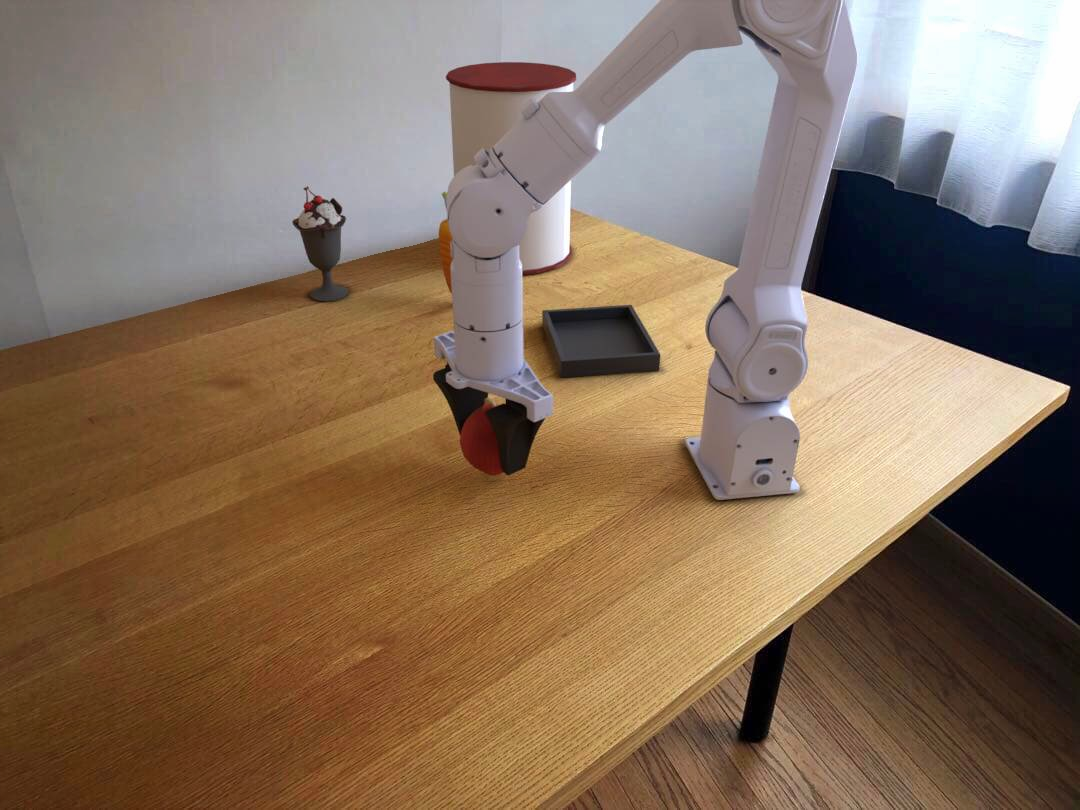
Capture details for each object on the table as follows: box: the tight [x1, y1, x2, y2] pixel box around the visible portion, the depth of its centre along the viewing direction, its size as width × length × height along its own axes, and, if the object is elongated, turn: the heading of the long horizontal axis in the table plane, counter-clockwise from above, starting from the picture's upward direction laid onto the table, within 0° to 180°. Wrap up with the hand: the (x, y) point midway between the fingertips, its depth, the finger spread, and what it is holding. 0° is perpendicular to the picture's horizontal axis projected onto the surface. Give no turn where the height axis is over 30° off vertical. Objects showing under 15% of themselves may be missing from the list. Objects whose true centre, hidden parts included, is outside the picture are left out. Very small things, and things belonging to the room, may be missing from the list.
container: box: [445, 61, 577, 276], centre depth 120 cm, size 17×17×25 cm
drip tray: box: [541, 304, 661, 379], centre depth 101 cm, size 13×11×2 cm
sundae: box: [291, 185, 349, 303], centre depth 110 cm, size 7×7×15 cm
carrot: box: [438, 191, 453, 295], centre depth 107 cm, size 5×5×15 cm
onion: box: [459, 397, 505, 477], centre depth 76 cm, size 6×6×8 cm
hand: (492, 453), depth 77 cm, fingers closed on onion, 6 cm apart
